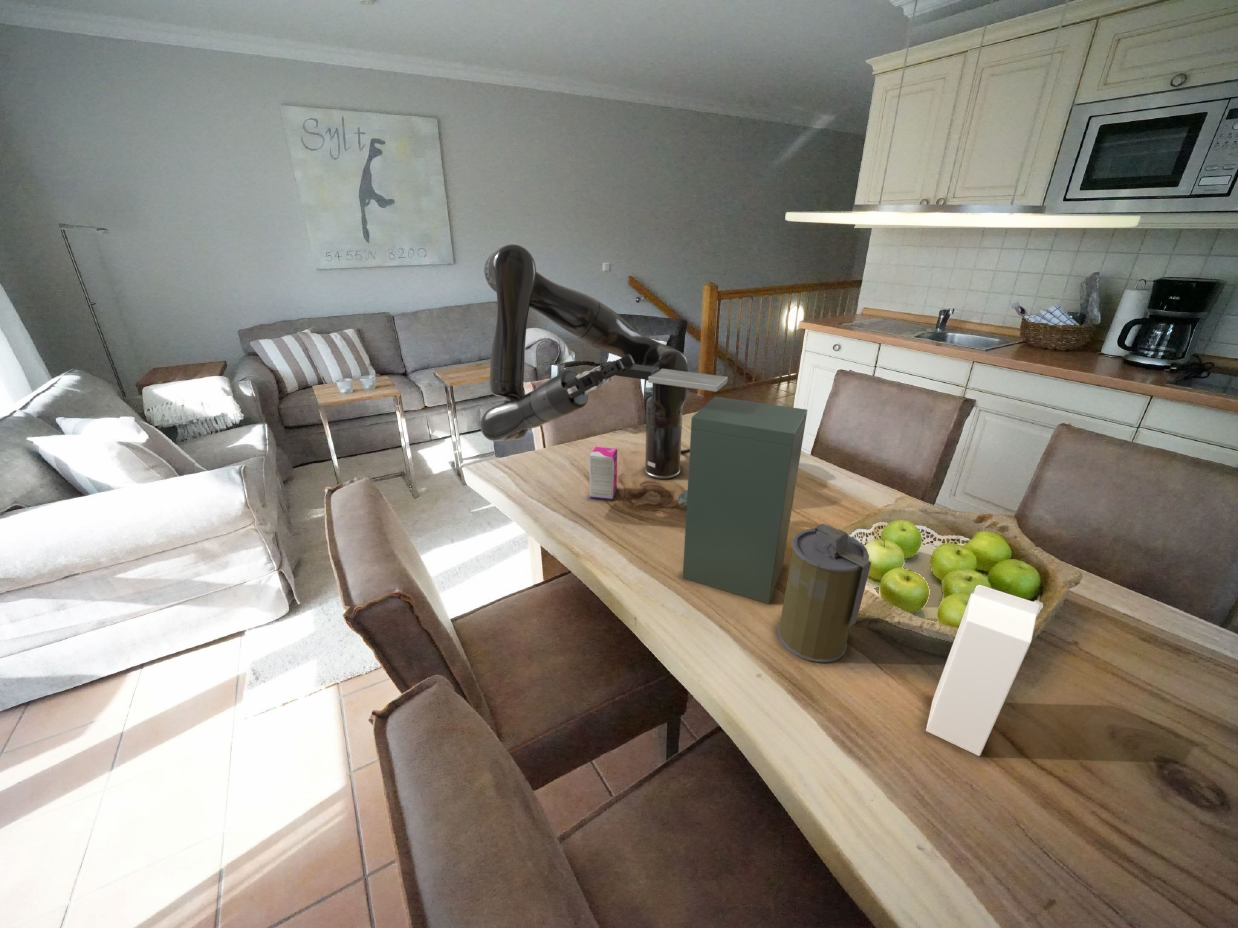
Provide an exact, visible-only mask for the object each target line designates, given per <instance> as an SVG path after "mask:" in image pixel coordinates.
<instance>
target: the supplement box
mask: <svg viewBox="0 0 1238 928" xmlns="http://www.w3.org/2000/svg"><path fill="white" fill-rule="evenodd" d="M588 460H589V463H588V465H589V499H592V500H602V501H613V499H614V496H615V494H616V492H617V490H618V489H617V488H618V487H617V486H618V448H614V447H602V446H594V447H593V449H592V451H591V452H590V454H589V458H588Z"/></svg>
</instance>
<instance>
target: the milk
mask: <svg viewBox="0 0 1238 928" xmlns="http://www.w3.org/2000/svg"><path fill="white" fill-rule="evenodd" d="M1040 608H1041V604H1040V603H1038V602H1035V601H1032V600H1029V599H1026V598H1022V597H1019V596H1016V595H1014V594H1009V593H1007V592H1004V591H1000V590H998V589H994V588H991V587H988V586H985V585H982V584H978V585H976V587H975V589H974V590H973V592H971V593H970V596H969V599H968V601H967V604H966V606H965V610H964V612H963V615H962V618H961V621H960V623H959V627H958V629H957V632H956V635H955V637H954V640H953V643H952V645H951V648H950V651H949V654H948V656H947V659H946V662H945V665H944V668H943V669H942V673H941V675H940V678H939V681H938V683H937V684H938V685H937V687H936V690H935V692H934V695H933V698H932V700H931V701H932V702H931V706H930V709H929V710H930V711H929V715H928V720H927V724H926V729H925V731H926V732H927V733H929V734H931V735H933V736H935V737H937V738H939V739H942V740H943V741H946V742H948V743H950V744H952V745H955V746H957V747H958V748H961V749H963V750H965V751H967V752H970V753H972V754H973V755H975V756H978V757H980V756H981V755H982V752H983V751H984V748H985V746H986V744H987V742H988V739H989V737H990V735H991V733H992V731H993V728H994V727H995V724H996V721H997V719H998V717H999V715H1000V712H1001V710H1002V708H1003V706H1004V704H1005V702H1006V700H1007V697H1008V695H1009V693H1010V690H1011V688H1012V685H1013V683H1014V682H1015V680H1016V677H1017V675H1018V672H1019V670H1020V669H1021V666H1022V664H1023V662H1024V659H1025V657H1026V655H1027V653H1028V650H1029V648H1030V646H1031V643H1032V640H1033V635H1034V630H1035V625H1036V621H1037V617H1038V614H1039V611H1040Z"/></svg>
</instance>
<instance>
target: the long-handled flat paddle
mask: <svg viewBox="0 0 1238 928" xmlns="http://www.w3.org/2000/svg"><path fill="white" fill-rule="evenodd" d="M613 361H614V360H609V361H607V362H603V363H602V364H600V365H599V366H600V368H602V367H604V366H606V365H608V364H610V363H612V362H613ZM622 364H623V366H624V371H622V372H621V373H619V374H617V375H615V376H614V377H624V378H630V379H631V378H632V379H639V380H645V381H647V383H651V384H653V383H657V384H664V385H672V386H679V387H686V388H687V389H694V390H702V391H708V392H716V393H717V392H718V391H719V390H721V388H723V387H724V386H726V384H727V383H728V380H729V379H728V378H729V377H728V376H724V375H717V374H708V373H701V372H693V371H689V372H685V371H677V370H669V369H661V370H659V367H653V366H645V365H637V364H629V363H622ZM602 370H603V369H602Z"/></svg>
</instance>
